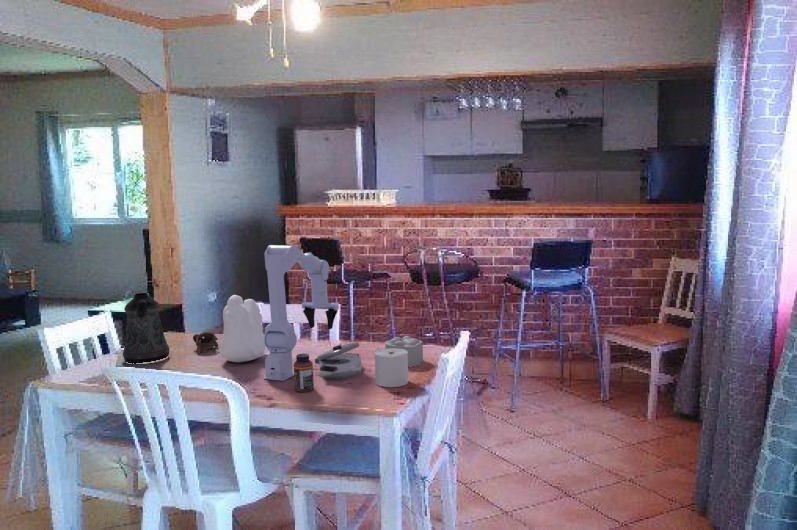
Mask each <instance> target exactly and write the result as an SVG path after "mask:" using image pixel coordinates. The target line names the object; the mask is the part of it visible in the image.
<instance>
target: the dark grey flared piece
mask: <svg viewBox="0 0 797 530" xmlns="http://www.w3.org/2000/svg"><path fill="white" fill-rule="evenodd" d="M160 306H161V305H160V303H159V302H158V301H157V300H155V299H153V298H152V297H151V296H150V295H148V293H146V292H140V293H136V294H134V296H133V298H132V299H131V300H129V302H128V303H126V305H125V306H124V308H123V309H124V312H125V313H126V327H125V342H124V348H123V350H122V351H123V352H122V356H123V360H124V362H128V363H132V364H133V363H134V364H136V363H143V362H151V361H156V360H160V359H163V358H166V357H167V356H168V355H169V356H170V347H169V344H168V343H167V339H166V337H165V333H164V330H163V326H162V322H161V318H160V314H159V313H160V312H159V310H160Z"/></svg>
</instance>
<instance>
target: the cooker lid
mask: <svg viewBox="0 0 797 530" xmlns="http://www.w3.org/2000/svg"><path fill="white" fill-rule="evenodd" d="M359 346H360V343H359V341H357V342H352V343H351V342H350V343H348V344H345V345H342V344H337V345H335V346H332V347H331V349H329V350H328V351H327V350H326V351H324V352H322V353H321V354H318V355H317V356H316V358H318V360H322V359H326V358H330V357H333V356H336V355H339V354H345V353H349V352H351V351H352V350H355V349H356V348H358V347H359Z"/></svg>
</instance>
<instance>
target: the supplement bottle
mask: <svg viewBox="0 0 797 530" xmlns="http://www.w3.org/2000/svg"><path fill="white" fill-rule="evenodd" d="M295 357H296V358H295V360H296V361H294V363H293V371H294V376H293V379H294V390H295V391H296V392H298V391H299V392H298V393H307V391H308V392H311V391H312V390H314V387H315V385H314V384H315V383H314V381H315V380H314V364H313V363H314V362H313V361H311V360H310V354H308V353H299V354H296V356H295Z"/></svg>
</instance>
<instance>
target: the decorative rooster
mask: <svg viewBox="0 0 797 530" xmlns="http://www.w3.org/2000/svg"><path fill="white" fill-rule="evenodd" d="M222 318H223V319H222V320H223V335H222V339H221V342H222V343H221V345H220V349H219V354H220V356H221V357H222V358H225V359H226V361H228V362H232V363H244V362H248V361H253V360H256V359H259V358H260V357H262V356H264V353H265V350H266V346H265V344H264V335H265V332H263V330H264V329H263V316H262V313H261V309H260V306H259V305H258V303H256V301H255V300H254V299H252V298H248V299H244V300H243V297H242V296H240V295H237V294H233V295H231V296H230V297H229V298H228V299H227V302H226V305H225V307H224V308H223V311H222Z"/></svg>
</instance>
